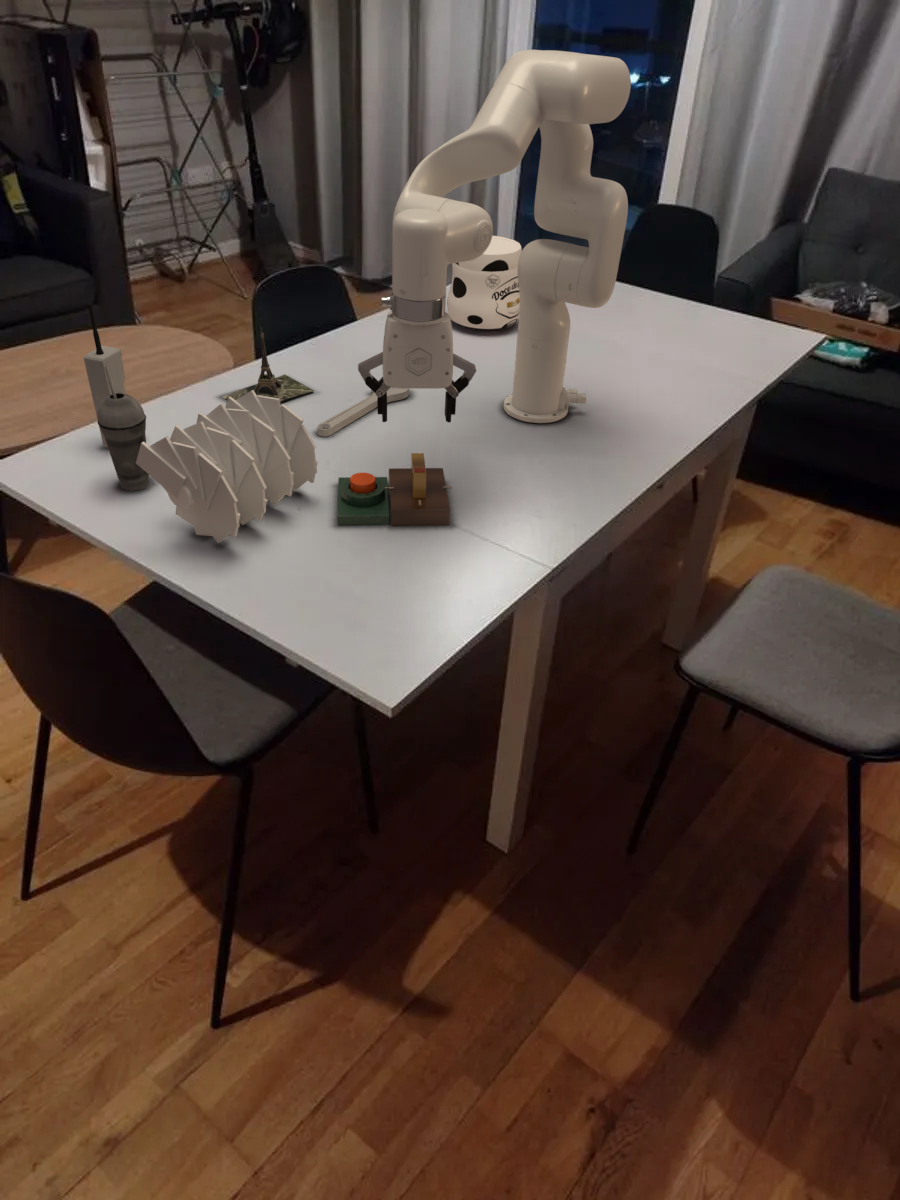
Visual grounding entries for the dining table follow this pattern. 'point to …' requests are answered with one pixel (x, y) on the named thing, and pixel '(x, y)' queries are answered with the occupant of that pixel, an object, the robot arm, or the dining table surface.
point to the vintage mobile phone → (103, 370)
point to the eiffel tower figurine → (272, 383)
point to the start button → (362, 483)
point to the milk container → (487, 288)
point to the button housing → (363, 504)
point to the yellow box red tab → (418, 475)
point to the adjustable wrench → (358, 411)
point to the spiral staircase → (232, 463)
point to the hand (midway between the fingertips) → (416, 418)
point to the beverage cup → (124, 436)
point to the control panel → (418, 499)
